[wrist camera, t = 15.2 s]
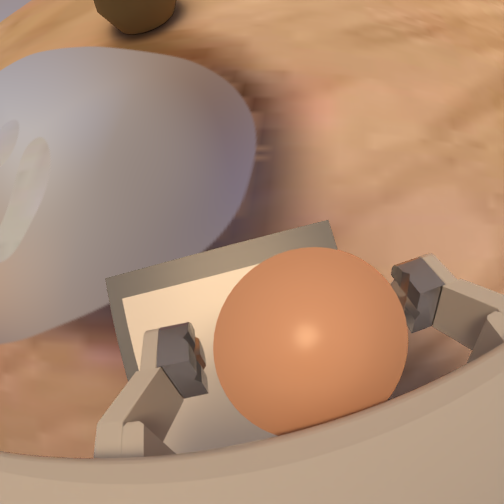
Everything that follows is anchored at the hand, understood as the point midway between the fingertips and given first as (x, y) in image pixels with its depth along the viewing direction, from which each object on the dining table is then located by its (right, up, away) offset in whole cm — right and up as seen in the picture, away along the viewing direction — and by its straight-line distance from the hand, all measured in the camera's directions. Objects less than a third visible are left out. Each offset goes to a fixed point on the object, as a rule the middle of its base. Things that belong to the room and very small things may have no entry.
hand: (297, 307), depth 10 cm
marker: (0, -2, +7) cm, 8 cm away
